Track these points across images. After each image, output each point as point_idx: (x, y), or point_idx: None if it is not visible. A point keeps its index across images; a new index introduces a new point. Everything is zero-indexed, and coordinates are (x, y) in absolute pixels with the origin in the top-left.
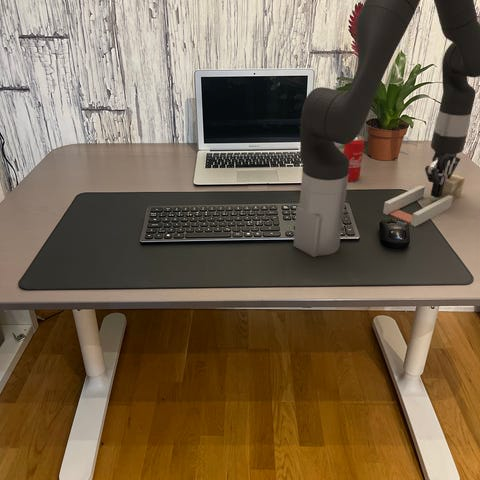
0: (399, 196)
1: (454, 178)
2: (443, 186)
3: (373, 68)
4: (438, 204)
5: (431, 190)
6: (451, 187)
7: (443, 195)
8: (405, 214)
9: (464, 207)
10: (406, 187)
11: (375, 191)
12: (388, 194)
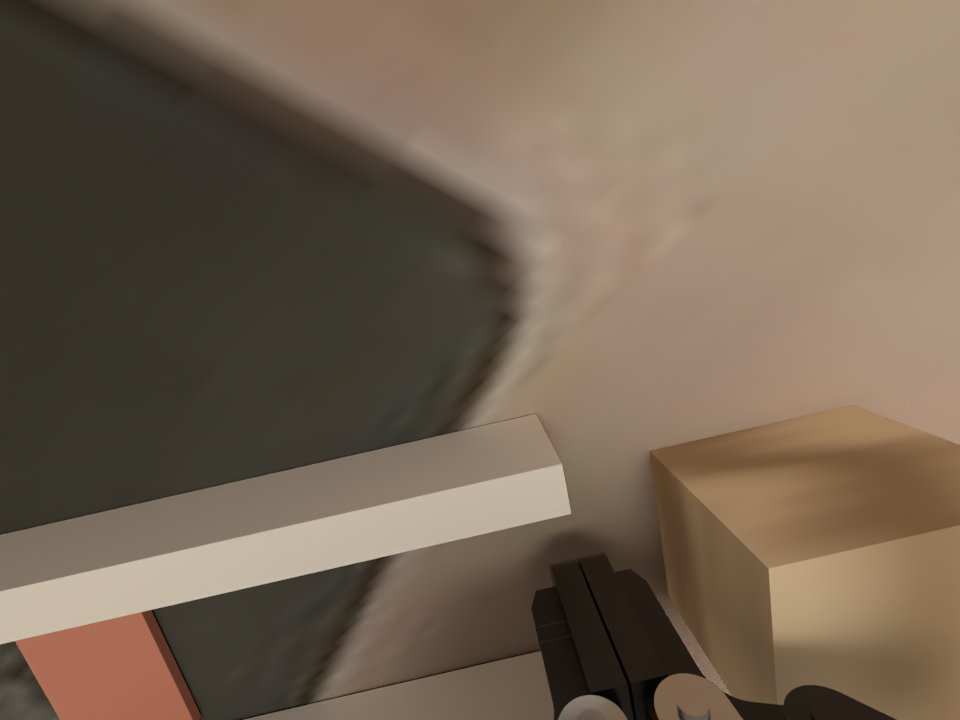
0: (77, 591)
1: (955, 672)
2: (729, 622)
3: None
4: None
5: (560, 597)
6: None
7: (679, 571)
8: (126, 654)
9: None
10: (581, 203)
11: (175, 111)
12: (270, 251)
